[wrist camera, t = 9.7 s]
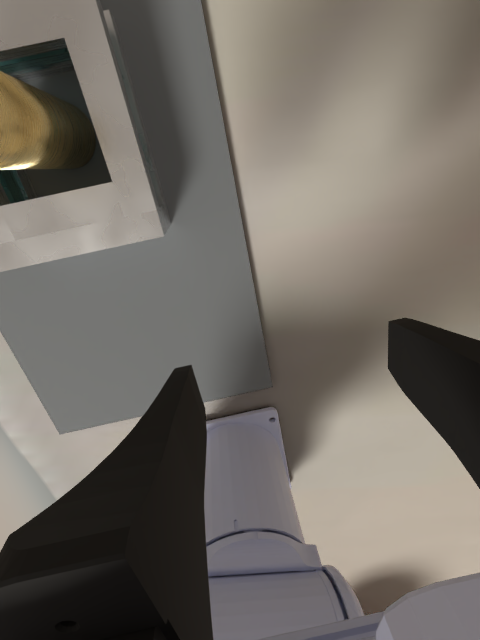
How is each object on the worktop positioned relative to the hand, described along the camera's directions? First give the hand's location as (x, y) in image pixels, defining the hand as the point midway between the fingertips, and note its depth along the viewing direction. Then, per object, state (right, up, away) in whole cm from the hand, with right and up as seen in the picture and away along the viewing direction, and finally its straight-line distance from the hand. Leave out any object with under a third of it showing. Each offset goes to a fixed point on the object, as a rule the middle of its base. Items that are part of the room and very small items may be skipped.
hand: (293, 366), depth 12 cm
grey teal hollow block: (-11, +12, +4) cm, 17 cm away
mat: (-10, +7, +7) cm, 14 cm away
